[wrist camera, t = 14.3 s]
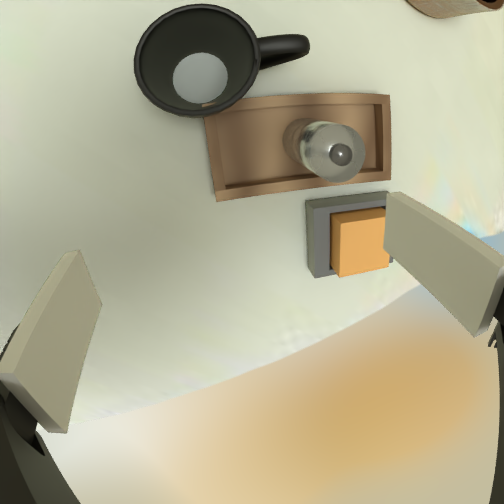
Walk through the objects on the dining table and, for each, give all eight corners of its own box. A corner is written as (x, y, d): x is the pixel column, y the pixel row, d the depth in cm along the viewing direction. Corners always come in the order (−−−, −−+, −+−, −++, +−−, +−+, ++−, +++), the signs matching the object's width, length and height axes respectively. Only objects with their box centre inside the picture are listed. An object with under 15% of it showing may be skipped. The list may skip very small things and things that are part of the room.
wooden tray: (215, 195, 30) (216, 202, 28) (202, 104, 25) (201, 104, 23) (380, 174, 31) (390, 179, 29) (378, 94, 27) (389, 94, 25)
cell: (284, 164, 28) (315, 188, 21) (280, 119, 26) (311, 126, 19) (327, 159, 29) (369, 181, 21) (324, 116, 27) (368, 124, 19)
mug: (290, 106, 27) (325, 99, 18) (164, 128, 26) (143, 130, 17) (276, 29, 23) (305, -7, 15) (150, 50, 23) (126, 19, 14)
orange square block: (328, 262, 33) (339, 277, 31) (328, 211, 31) (340, 223, 28) (375, 253, 34) (388, 266, 31) (378, 205, 31) (393, 215, 28)
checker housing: (307, 266, 35) (314, 278, 33) (305, 200, 31) (313, 208, 29) (382, 252, 36) (392, 262, 34) (387, 191, 32) (399, 197, 30)
